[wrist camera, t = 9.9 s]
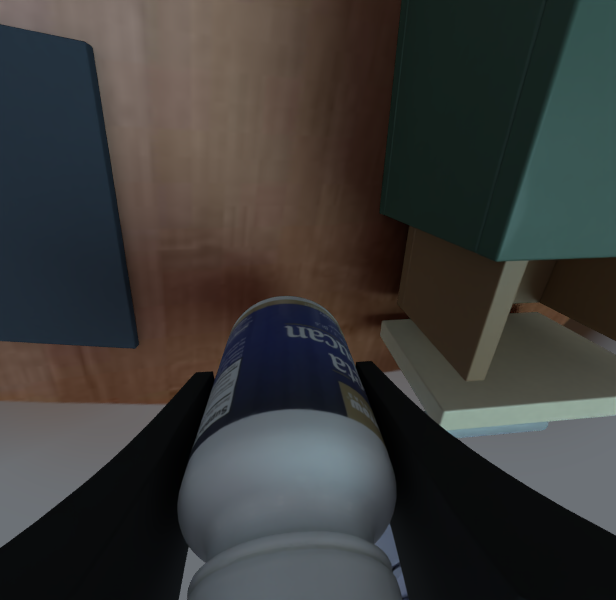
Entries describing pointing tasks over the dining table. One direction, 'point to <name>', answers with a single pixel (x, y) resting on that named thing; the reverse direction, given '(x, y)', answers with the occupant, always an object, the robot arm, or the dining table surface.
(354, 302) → the dining table surface
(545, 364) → the drawer
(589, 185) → the cabinet
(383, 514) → the pill bottle
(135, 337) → the mat
